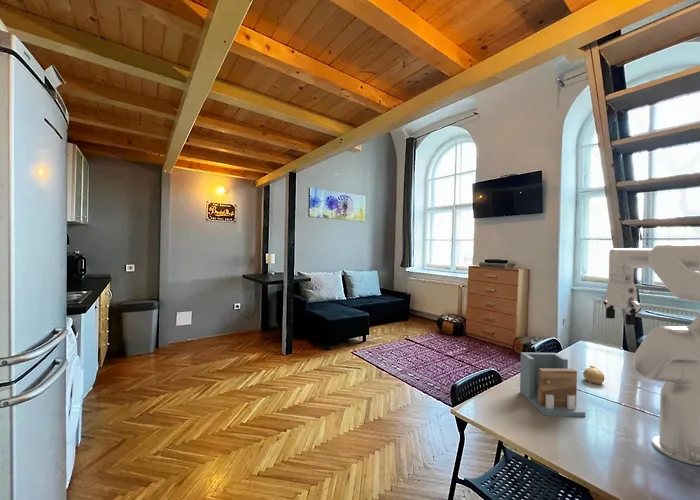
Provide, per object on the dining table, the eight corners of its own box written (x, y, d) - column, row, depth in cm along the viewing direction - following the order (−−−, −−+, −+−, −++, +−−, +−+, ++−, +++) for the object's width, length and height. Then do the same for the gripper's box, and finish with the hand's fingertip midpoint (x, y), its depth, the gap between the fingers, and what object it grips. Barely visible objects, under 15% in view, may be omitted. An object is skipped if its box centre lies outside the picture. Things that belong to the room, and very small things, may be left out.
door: (577, 408, 119) (578, 372, 118) (543, 407, 119) (543, 371, 119) (571, 403, 122) (572, 368, 122) (538, 403, 123) (538, 368, 122)
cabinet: (585, 416, 116) (586, 370, 115) (544, 415, 117) (545, 369, 116) (555, 393, 134) (556, 352, 133) (520, 392, 135) (520, 352, 134)
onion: (608, 383, 143) (608, 368, 143) (598, 387, 139) (599, 371, 139) (588, 377, 150) (589, 362, 150) (579, 380, 147) (579, 365, 147)
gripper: (650, 281, 116) (649, 327, 116) (613, 276, 133) (612, 316, 134) (629, 281, 116) (628, 327, 117) (595, 276, 133) (594, 316, 134)
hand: (619, 321), depth 125 cm, fingers open, 9 cm apart
